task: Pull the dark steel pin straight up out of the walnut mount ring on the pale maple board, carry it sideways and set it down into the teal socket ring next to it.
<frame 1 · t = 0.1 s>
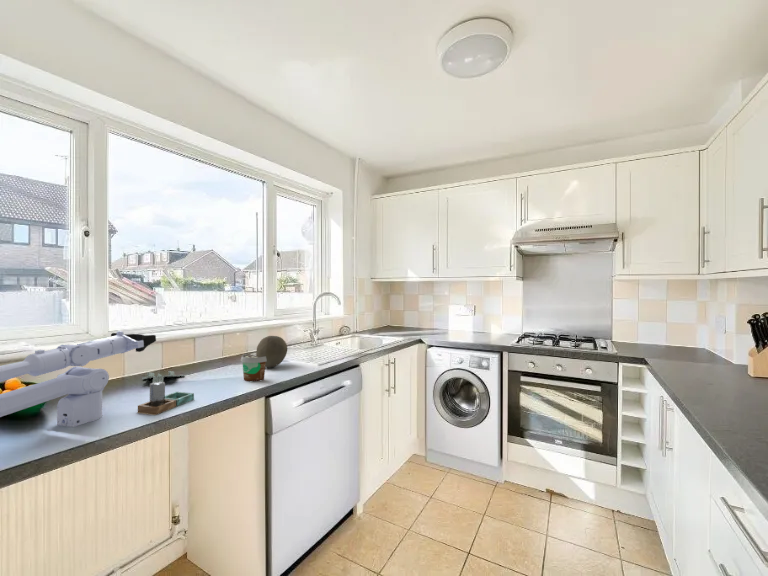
hand: (145, 337, 121), 22 cm above the counter, tool horizontal, fingers open, 7 cm apart
steel pin: (157, 409, 111), point 1 cm above the counter, touching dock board
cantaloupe: (271, 367, 172), on the counter
metal bracket: (161, 382, 145), on the counter
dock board: (167, 408, 114), on the counter
food container: (250, 380, 149), on the counter
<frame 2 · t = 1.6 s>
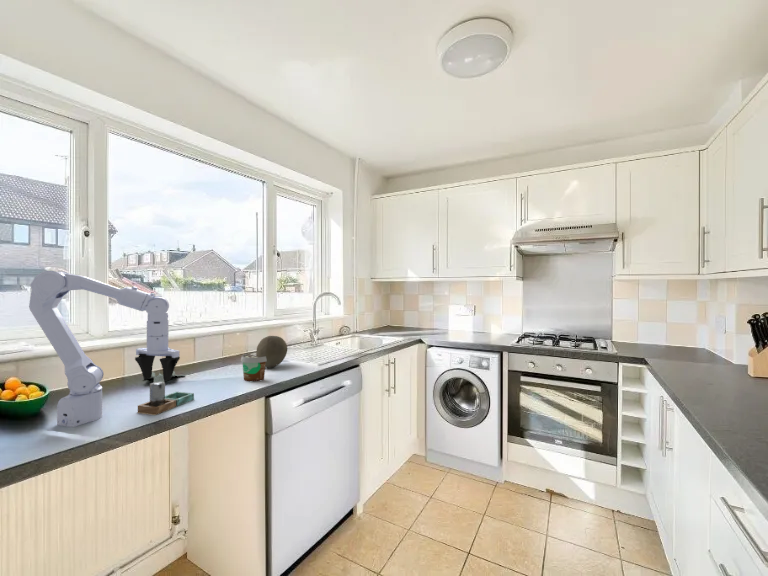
hand: (157, 379, 111), 10 cm above the counter, tool pointing down, fingers open, 7 cm apart
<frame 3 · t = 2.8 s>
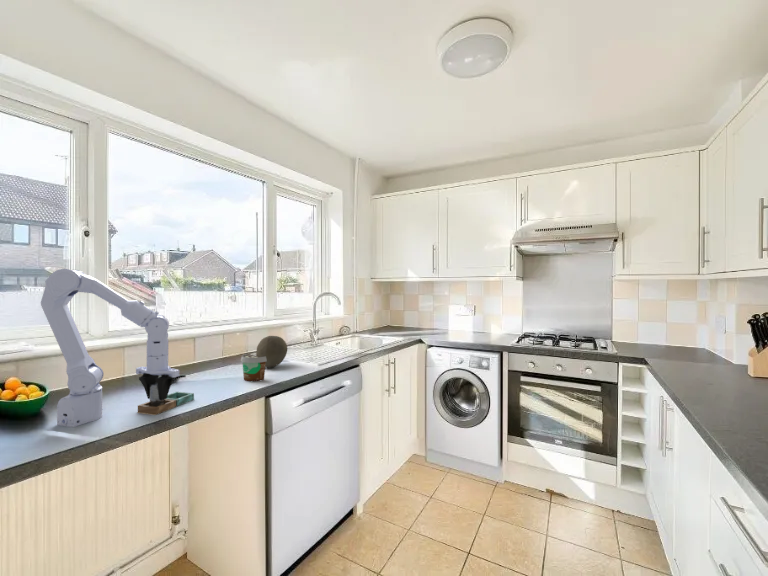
hand: (157, 398, 111), 4 cm above the counter, tool pointing down, fingers closed on steel pin, 4 cm apart
steel pin: (157, 409, 111), point 1 cm above the counter, touching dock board, gripper
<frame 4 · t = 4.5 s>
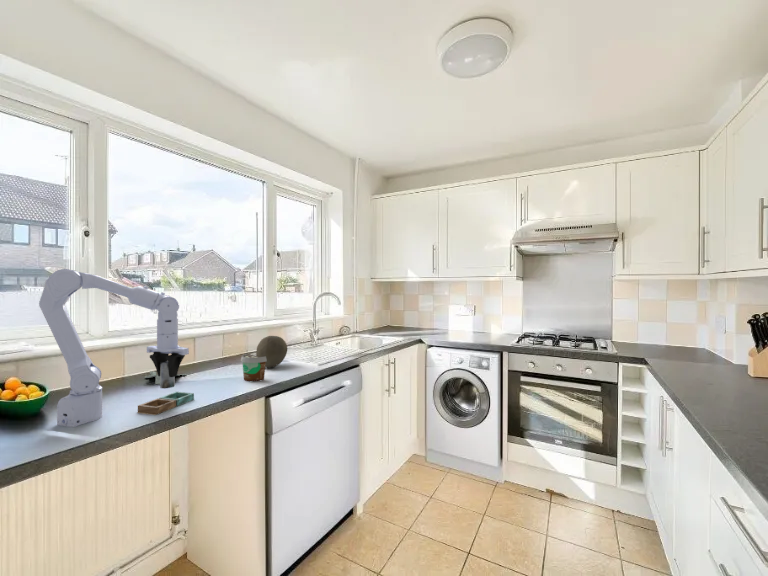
hand: (167, 376, 114), 10 cm above the counter, tool pointing down, fingers closed on steel pin, 4 cm apart
steel pin: (167, 386, 114), point 7 cm above the counter, touching gripper
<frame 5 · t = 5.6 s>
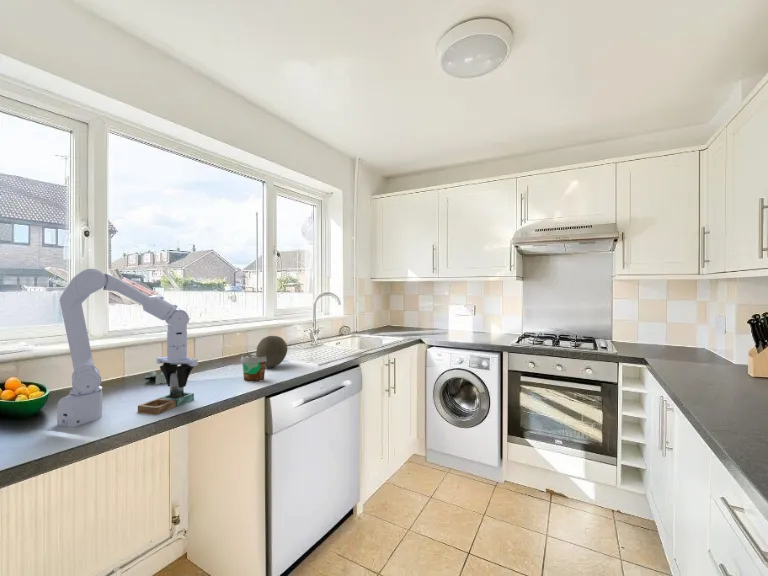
hand: (176, 386, 118), 6 cm above the counter, tool pointing down, fingers closed on steel pin, 4 cm apart
steel pin: (176, 396, 118), point 3 cm above the counter, touching gripper
when the fingers open (6 cm above the counter, at t = 6.4 s): steel pin drops 1 cm, resting on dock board.
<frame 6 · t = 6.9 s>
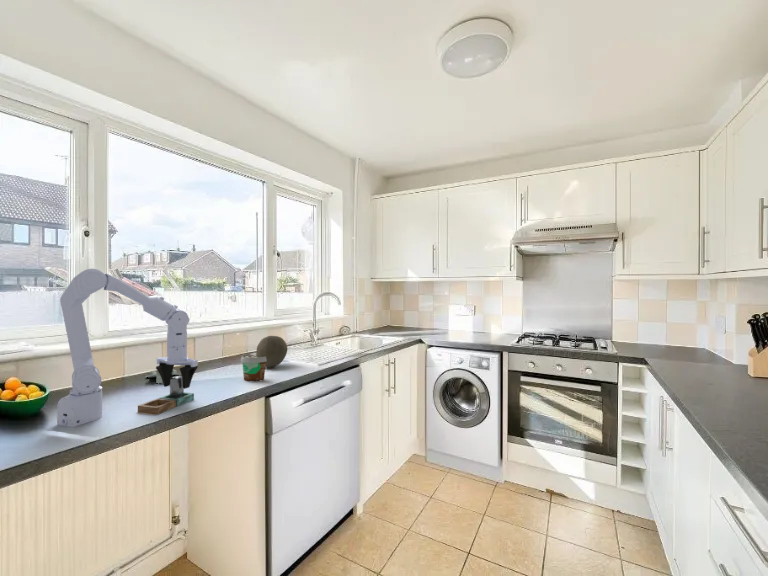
hand: (176, 386, 118), 6 cm above the counter, tool pointing down, fingers open, 7 cm apart
steel pin: (176, 401, 118), point 1 cm above the counter, touching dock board
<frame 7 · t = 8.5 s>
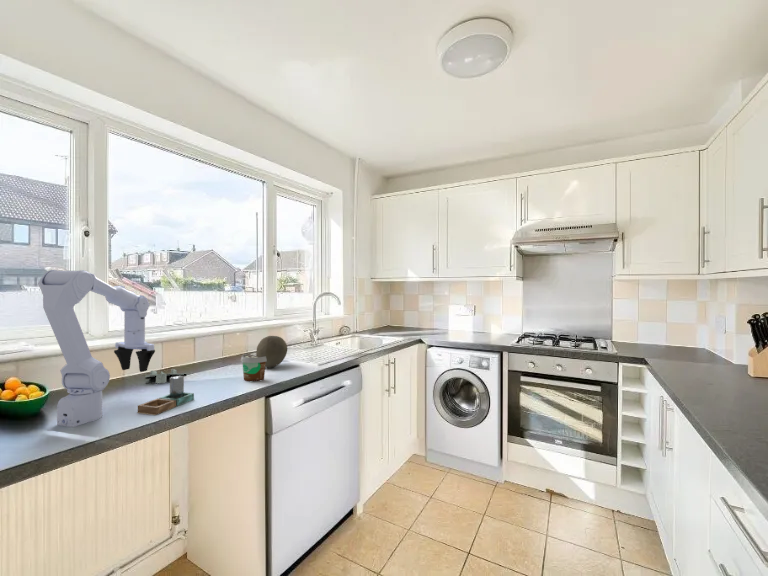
hand: (134, 370, 121), 10 cm above the counter, tool pointing down, fingers open, 7 cm apart
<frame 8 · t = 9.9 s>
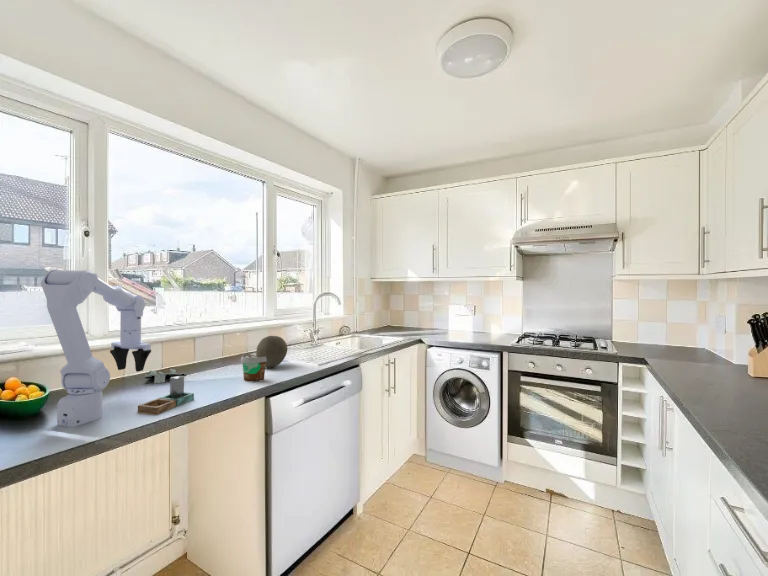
hand: (130, 370, 121), 10 cm above the counter, tool pointing down, fingers open, 7 cm apart
at the end: steel pin 0.0 cm from the target spot, point 1.0 cm above the counter; steel pin tilted 1°; the gripper is holding nothing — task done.
